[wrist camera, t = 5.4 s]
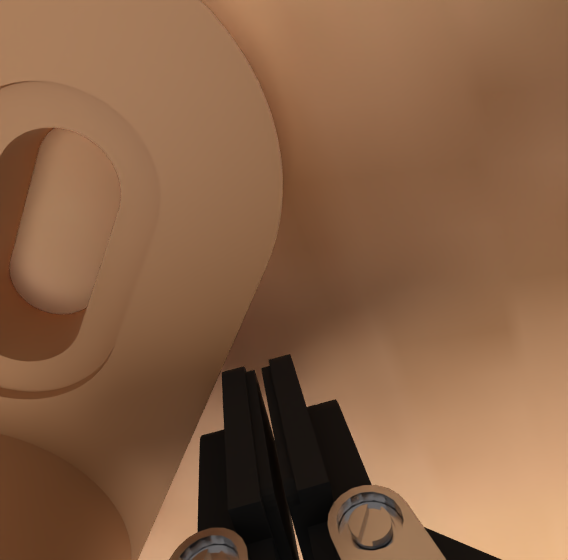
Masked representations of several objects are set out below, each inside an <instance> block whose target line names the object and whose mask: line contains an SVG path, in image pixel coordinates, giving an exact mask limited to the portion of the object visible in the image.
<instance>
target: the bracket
mask: <svg viewBox="0 0 568 560" xmlns="http://www.w3.org/2000/svg"><path fill="white" fill-rule="evenodd" d="M53 128H61V129H66V130H69V131H72V132H75V133H78V134H80V135H82V136H84V137H86V138H87V139H89V140H90V141H92V142H93V143H94V144H96V145H97V146H98V147H99V148H100V149H101V150H102V151H103V152H104V153H105V154H106V156H107V157H108V158H109V160H110V161H111V163H112V165H113V166H114V168H115V170H116V173H117V175H118V179H119V183H120V189H121V200H120V206H119V210H118V213H117V216H116V219H115V222H114V225H113V228H112V232H111V235H110V238H109V241H108V244H107V247H106V250H105V253H104V256H103V260H102V263H101V266H100V269H99V272H98V275H97V278H96V281H95V284H94V287H93V291H92V294H91V297H90V300H89V303H88V306H87V308H85V309H83V310H81V311H79V312H76V313H72V314H52V313H47V312H44V311H41V310H39V309H37V308H35V307H33V306H32V305H30V304H29V303H27V302H26V301H25V300H24V299H23V298H22V297H21V296H20V295H19V294H18V292H17V291H16V289H15V288H14V286H13V284H12V281H11V278H10V273H9V264H10V259H11V255H12V251H13V248H14V244H15V240H16V236H17V232H18V228H19V224H20V220H21V216H22V213H23V209H24V205H25V201H26V197H27V193H28V189H29V185H30V182H31V178H32V174H33V170H34V166H35V162H36V158H37V154H38V150H39V147H40V145H41V143H42V141H43V139H44V137H45V136H46V135H47V134H48V132H50V131H51V130H52V129H53ZM282 199H283V173H282V160H281V153H280V147H279V142H278V136H277V131H276V128H275V125H274V121H273V118H272V114H271V111H270V108H269V105H268V103H267V100H266V98H265V95H264V93H263V90H262V88H261V85H260V83H259V81H258V79H257V77H256V75H255V74H254V72H253V70H252V68H251V66H250V64H249V62H248V60H247V58H246V57H245V55H244V54H243V52H242V51H241V49H240V48H239V46H238V45H237V43H236V42H235V40H234V39H233V37H232V36H231V34H230V33H229V32H228V31H227V29H226V28H225V27H224V26H223V25H222V23H221V22H220V21H219V20H218V18H217V17H216V16H215V15H214V14H213V12H212V11H211V10H210V9H209V8H208V7H207V6H206V5H205V4H204V3H203V2H202V1H201V0H0V560H138V558H139V556H140V553H141V551H142V549H143V547H144V544H145V542H146V540H147V537H148V535H149V533H150V531H151V528H152V526H153V524H154V522H155V519H156V517H157V515H158V512H159V510H160V508H161V506H162V503H163V501H164V499H165V497H166V494H167V492H168V490H169V487H170V485H171V483H172V481H173V478H174V476H175V474H176V472H177V469H178V467H179V465H180V462H181V460H182V458H183V456H184V453H185V451H186V449H187V447H188V444H189V442H190V440H191V438H192V435H193V433H194V431H195V428H196V426H197V424H198V422H199V419H200V417H201V415H202V413H203V410H204V408H205V406H206V403H207V401H208V399H209V397H210V394H211V392H212V390H213V388H214V385H215V383H216V381H217V378H218V376H219V374H220V372H221V369H222V367H223V365H224V363H225V360H226V358H227V356H228V353H229V351H230V349H231V347H232V344H233V342H234V340H235V338H236V335H237V333H238V331H239V328H240V326H241V324H242V322H243V319H244V317H245V315H246V313H247V310H248V308H249V306H250V304H251V301H252V299H253V297H254V294H255V292H256V290H257V288H258V285H259V283H260V281H261V279H262V276H263V274H264V272H265V269H266V267H267V264H268V262H269V259H270V256H271V254H272V251H273V248H274V245H275V241H276V237H277V233H278V229H279V224H280V217H281V210H282Z"/></svg>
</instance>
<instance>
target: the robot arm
mask: <svg viewBox="0 0 568 560" xmlns="http://www.w3.org/2000/svg"><path fill="white" fill-rule="evenodd" d="M269 365H270V366H267V367H263V368H261V370H262V375H263V380H264V386H265V391H266V396H267V402H268V407H269V412H270V418H271V423H272V428H273V433H272V430H271V426H270V423H269V419H268V415H267V412H266V408H265V405H264V401H263V398H262V394H261V391H260V387H259V383H258V380H257V376H256V373H255V370H252V371H248V372H246V369H245V367H244V366H243V367H240V368H236V369H232V370H228V371H224V372H222V390H223V412H224V430H220V431H217V432H213V433H209V434H206V435H202V436H201V438H200V456H199V496H198V533H196V534H194V535H192V536H191V537H189V538H187V539H186V540H185V541H184V542H183V543H182V544H181V545H180V546H179V547H178V548H177V549H176V550H175V552H174V553H173V555H172V556H171V558H170V559H169V560H299V556H298V550H297V545H296V540H295V535H294V529H293V524H294V528H295V531H296V535H297V538H298V542H299V545H300V549H301V552H302V556H303V559H304V560H501V559H499V558H496V557H494V556H491V555H489V554H487V553H484V552H482V551H480V550H477V549H475V548H472V547H470V546H468V545H465V544H463V543H461V542H458V541H456V540H453V539H451V538H449V537H446V536H444V535H442V534H439V533H437V532H434V531H432V530H430V529H427V528H425V527H423V525H422V524H421V522H420V521H419V519H418V518H417V517H416V515H415V514H414V512H413V511H412V509H411V508H410V506H409V505H408V504H407V502H406V501H405V500H404V499H403V498H402V497H401V496H400V495H399V494H398V493H396V492H394V491H392V490H391V489H389V488H386V487H382V486H378V485H371V482H370V480H369V477H368V475H367V472H366V470H365V468H364V465H363V463H362V460H361V458H360V455H359V453H358V450H357V448H356V446H355V443H354V441H353V438H352V436H351V433H350V431H349V428H348V426H347V424H346V421H345V419H344V416H343V414H342V411H341V409H340V406H339V404H338V402H337V400H336V399H335V400H331V401H328V402H324V403H320V404H317V405H313V406H309V407H306V404H305V401H304V397H303V394H302V391H301V388H300V384H299V381H298V378H297V374H296V371H295V368H294V365H293V361H292V358H291V355H290V354H289V355H285V356H281V357H278V358H274V359H270V360H269ZM273 434H274V437H273ZM274 439H275V440H274ZM291 517H292V519H291ZM292 521H293V524H292Z"/></svg>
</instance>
